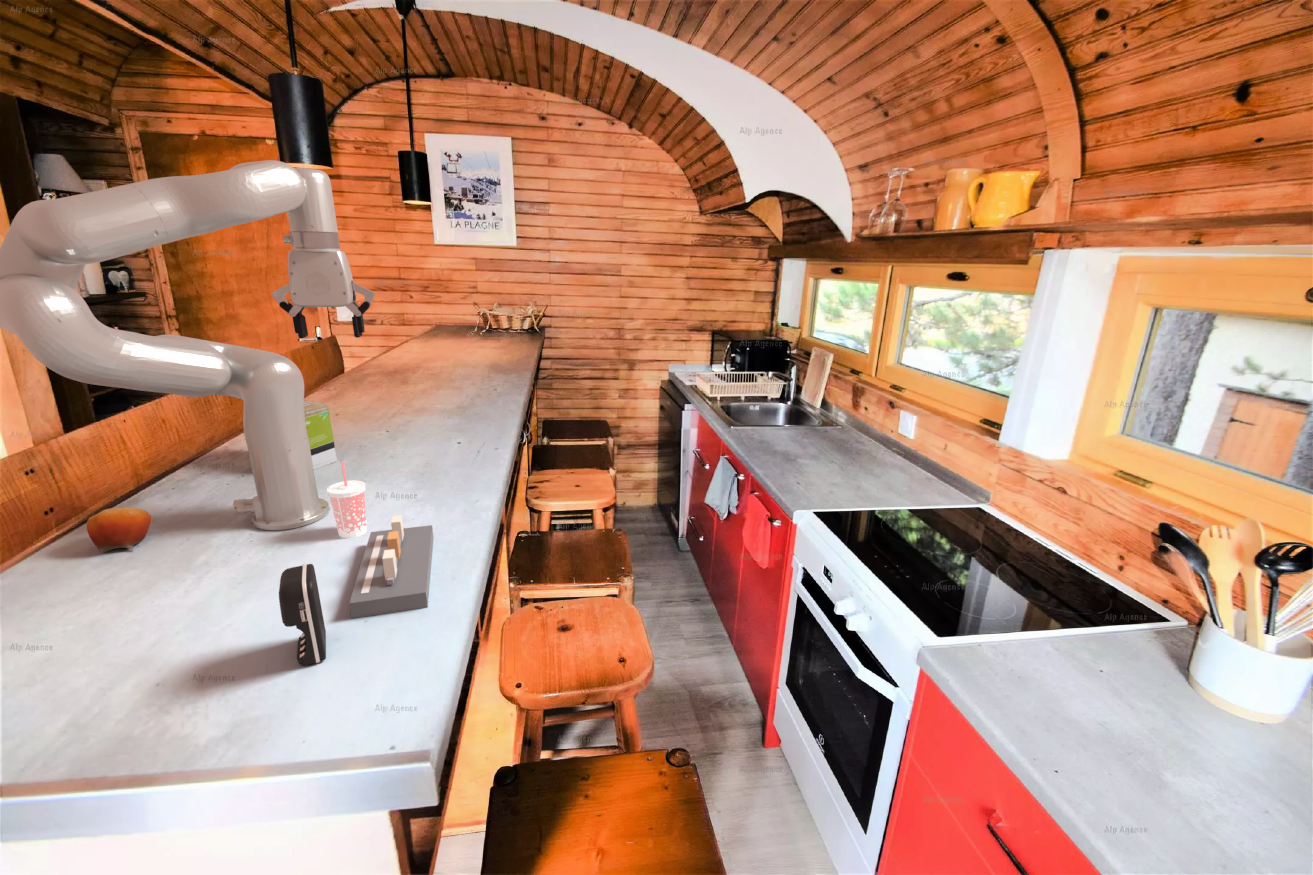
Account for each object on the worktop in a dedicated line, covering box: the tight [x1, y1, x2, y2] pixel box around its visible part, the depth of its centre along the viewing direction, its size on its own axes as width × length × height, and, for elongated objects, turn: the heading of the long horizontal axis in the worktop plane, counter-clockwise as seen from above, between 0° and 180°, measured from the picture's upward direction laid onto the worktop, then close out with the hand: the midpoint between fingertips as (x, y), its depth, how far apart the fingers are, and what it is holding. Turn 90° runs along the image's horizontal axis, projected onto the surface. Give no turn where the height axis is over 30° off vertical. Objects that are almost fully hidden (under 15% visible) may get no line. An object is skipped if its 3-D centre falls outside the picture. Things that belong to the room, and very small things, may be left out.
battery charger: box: [278, 563, 327, 666], centre depth 72 cm, size 7×4×11 cm, turn 29°
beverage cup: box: [326, 459, 368, 539], centre depth 103 cm, size 6×6×14 cm
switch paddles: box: [382, 514, 404, 585], centre depth 91 cm, size 1×16×4 cm, turn 18°
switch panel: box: [348, 525, 434, 619], centre depth 92 cm, size 10×22×3 cm, turn 18°
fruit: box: [86, 507, 152, 554], centre depth 97 cm, size 8×8×8 cm
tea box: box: [304, 399, 338, 471], centre depth 134 cm, size 15×10×15 cm
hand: (331, 336), depth 110 cm, fingers open, 9 cm apart
